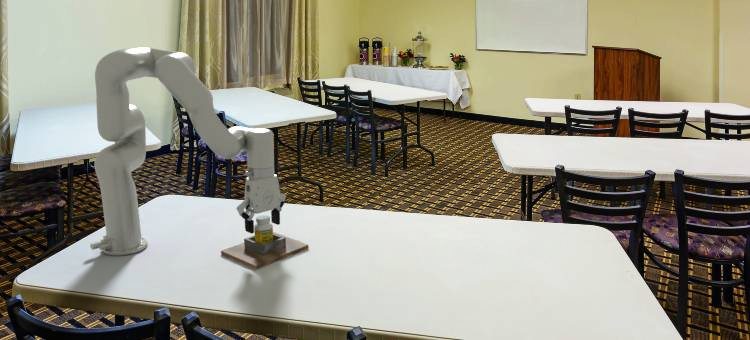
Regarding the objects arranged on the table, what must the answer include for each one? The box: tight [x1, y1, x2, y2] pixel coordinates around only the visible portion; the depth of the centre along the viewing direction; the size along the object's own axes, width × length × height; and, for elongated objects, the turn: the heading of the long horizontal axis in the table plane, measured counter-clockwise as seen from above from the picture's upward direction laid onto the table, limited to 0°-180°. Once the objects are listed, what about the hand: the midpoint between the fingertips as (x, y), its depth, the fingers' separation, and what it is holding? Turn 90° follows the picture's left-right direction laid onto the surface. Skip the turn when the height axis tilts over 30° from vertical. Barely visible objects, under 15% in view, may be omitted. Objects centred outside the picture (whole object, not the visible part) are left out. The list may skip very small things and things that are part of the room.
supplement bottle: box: [254, 214, 274, 245], centre depth 175 cm, size 5×5×10 cm
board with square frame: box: [220, 231, 310, 270], centre depth 176 cm, size 20×16×4 cm
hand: (263, 227), depth 175 cm, fingers open, 9 cm apart
